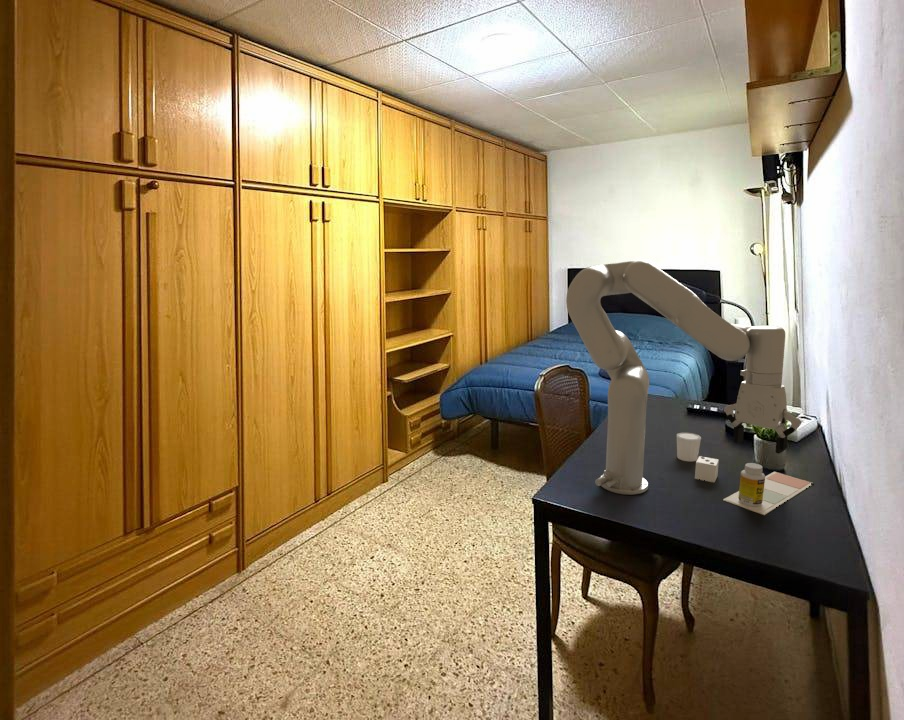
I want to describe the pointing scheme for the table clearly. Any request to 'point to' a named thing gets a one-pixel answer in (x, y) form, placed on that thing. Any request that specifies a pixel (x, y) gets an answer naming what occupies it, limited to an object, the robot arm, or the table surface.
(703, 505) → the table surface
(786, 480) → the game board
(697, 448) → the white cup
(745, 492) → the supplement bottle
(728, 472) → the table surface
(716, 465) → the die
